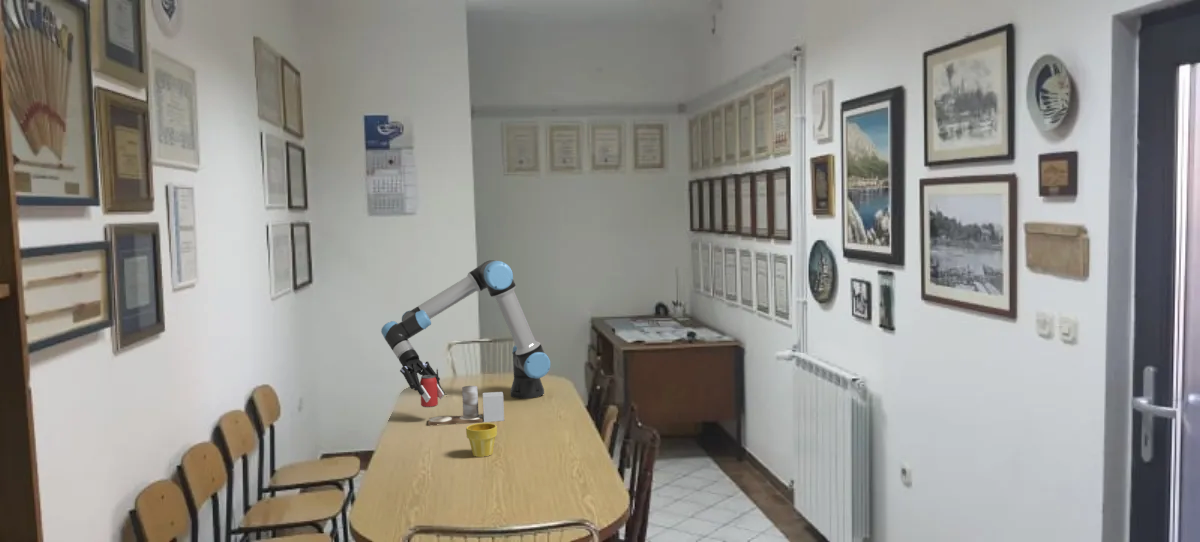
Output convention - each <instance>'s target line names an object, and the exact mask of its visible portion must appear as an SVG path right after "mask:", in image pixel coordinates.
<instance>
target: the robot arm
mask: <svg viewBox="0 0 1200 542" xmlns="http://www.w3.org/2000/svg"><path fill="white" fill-rule="evenodd" d="M513 273H514V272H513V271H512V269H511V266H509V264H508V263H505V262H503V261H501V260H490V259H489V260H486V261H484V262H482V263H481V264H480V265H478V266H477V267H475V268H474V269H472V270H471V271H469V272H468V273H467V275H466V276H465V277H463V278H462V279H461V280H459V281H457V282H456V283H454V284H452V285H450V286H449V287H447V288H445V289H444V290H442V291H441V292H439V293H437V294H435V295H434V296H433V297H431V298H429V299H427V300H426V301H424V302H423V303H421V304H420V305H419V304H418V305H417V306H416V307H414V308H413V309H411V310H407V311H405V312H404V313H403V314H402V316H401V321H400V322H398V323H397V321H394V320H393V321H392V320H391V321H390V322H386V323H385V324H384V325H383V326H382V327H381V330H380V332H381V334H382V336H383V338H384V340H385V341H386V343H387V345H389V347H390V349H391V351H392V352H393V353H394V355H395V357H396V358H397V359H398V360H399V363H400V364H401V366H402V367H401V369H400V370H399V372H400V373H401V374H402V375H403V378H404V379H405V381H406V383H407V384H408V386H409V388H410V389H411V390H414V391H415V392H416V391H417V392H418V394H419V395H420V396H421V395H422V397H423V398H424V400H425V401H426V402H428V401H429V400H430V398H431V397H430V396H429V394H428V393H427V391H426V390H425V388H424V387H423V385H421V386H420V379H419V376H421V377H422V376H424V375H435V377H436V379H437V394H438V398H439V399H440V400H442V398H443V396H444V395H446V394H444V393H443V391H444V390H443V389H442V390H443V391H442V390H441V388H442V386H441V384H440V385H439V384H438V382H439V383H440V380H441V378H440V376H439V374H438V375H437V372H436V371H434V370H435V369H433V368H432V366H431V365H430V363H429V361H425V362H423V361H422V360H420V355H419V354H418V352H417V351H416V350H415V348H414V346H413V345H412V343H411V342H410V341H409V340H410V338H412V337H414V336H415V335H417V334H419V333H420V332H422V331H424V330H426V329H427V328H428V327H429V326H431V325H432V321H431V319H433V318H435V317H436V316H438V315H440V314H441V313H443V312H444V311H446V310H447V309H449V308H451V307H453V306H454V305H456V304H458V303H459V302H461V301H462V300H464V299H466V298H468V297H469V296H470V295H472V294H474V293H475V292H479V293H480V292H482V291H484V290H485V289H486V290H487V291H488V293H489V296H490V297H491V298H493V299H495V301H496V303H497V304H498V305H497V306H498V307H499V309H500V312H501V314H502V317H503V318H504V322H505V324H506V326H507V329H508V331H509V332H510V335H511V338H512V341H513V342H514V344H515V345H513V347H512V365H513V369H512V370H513V380H512V384H511V388H510V397H511V398H515V399H533V397H535V398H539V397H538V396H540V397H542V396H541V395H543V394H544V395H545V389H544V386H543V383H542V380H541V378H543V377H545V376H546V375H547V374H548V373H549V371H550V369H551V359H550V358H549V356H548V355H547V353H545V350H544V349H543V347H542V343H541V342H539V341H537V340H536V338H535V336H534V334H533V332H532V330H531V327H530V325H529V323H528V322H529V321H527V318H526V315H525V313H524V311H523V308H522V306H521V304H520V301H519V299H518V297H517V294H516V292H515V289H516V287H517V285H516V283H515V280H514V274H513ZM418 374H419V376H418ZM440 386H441V387H440ZM544 395H543V396H544Z"/></svg>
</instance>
